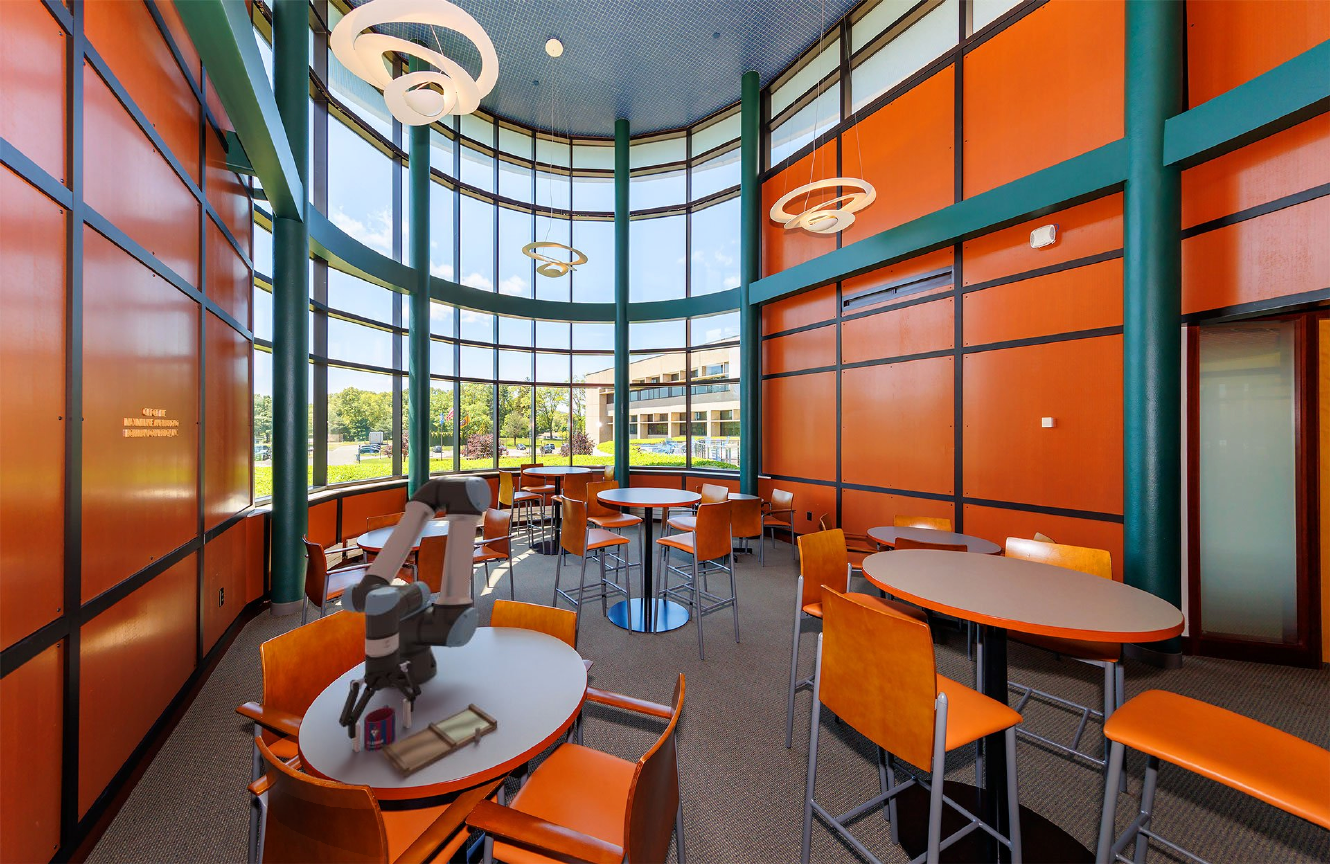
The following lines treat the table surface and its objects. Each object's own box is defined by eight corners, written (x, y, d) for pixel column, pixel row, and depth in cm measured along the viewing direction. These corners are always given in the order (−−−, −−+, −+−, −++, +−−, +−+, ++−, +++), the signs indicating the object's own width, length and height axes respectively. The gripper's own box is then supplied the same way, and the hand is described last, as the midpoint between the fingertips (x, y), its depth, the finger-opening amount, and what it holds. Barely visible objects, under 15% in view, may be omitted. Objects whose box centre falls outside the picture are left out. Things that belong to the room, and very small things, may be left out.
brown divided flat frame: (381, 753, 113) (381, 740, 113) (471, 709, 131) (471, 698, 131) (407, 780, 104) (407, 766, 104) (500, 729, 121) (500, 718, 122)
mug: (359, 752, 113) (359, 724, 113) (376, 727, 123) (376, 701, 123) (389, 748, 114) (389, 720, 115) (403, 724, 124) (403, 698, 124)
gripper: (333, 673, 108) (332, 768, 107) (435, 639, 126) (435, 720, 125) (323, 663, 112) (322, 755, 112) (423, 632, 131) (423, 710, 130)
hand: (382, 736), depth 119 cm, fingers open, 11 cm apart
